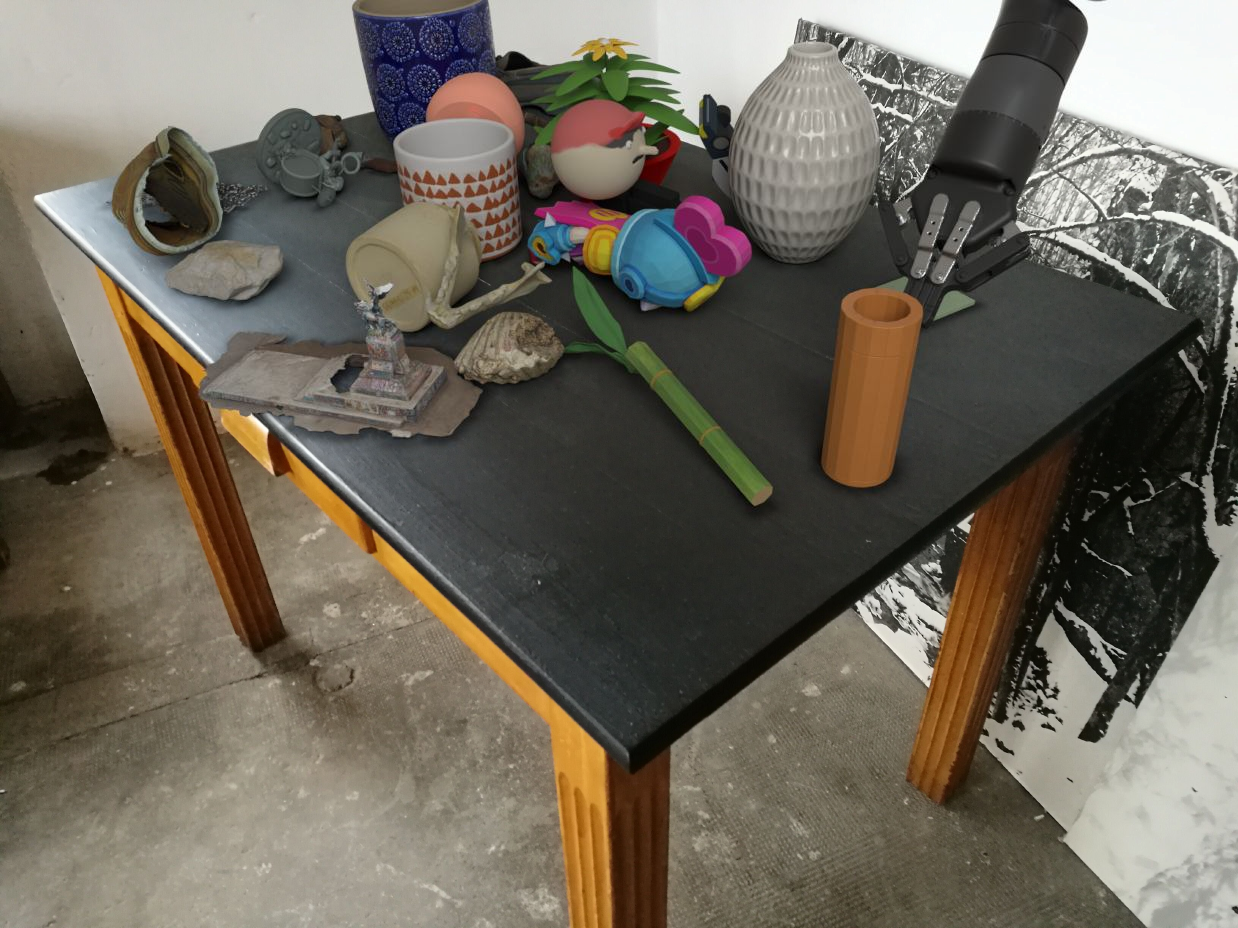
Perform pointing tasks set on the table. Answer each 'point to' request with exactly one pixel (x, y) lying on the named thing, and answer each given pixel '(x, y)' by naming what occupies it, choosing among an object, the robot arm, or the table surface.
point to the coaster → (949, 303)
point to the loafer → (517, 78)
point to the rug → (219, 196)
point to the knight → (646, 248)
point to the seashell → (509, 349)
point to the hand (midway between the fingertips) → (908, 328)
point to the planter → (419, 53)
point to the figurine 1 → (301, 156)
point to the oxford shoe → (170, 194)
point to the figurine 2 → (331, 132)
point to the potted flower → (620, 99)
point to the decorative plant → (666, 390)
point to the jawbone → (450, 316)
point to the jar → (870, 385)
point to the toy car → (716, 138)
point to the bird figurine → (538, 163)
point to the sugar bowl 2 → (478, 103)
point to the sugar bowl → (411, 262)
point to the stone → (227, 270)
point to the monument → (380, 397)
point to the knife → (379, 164)
